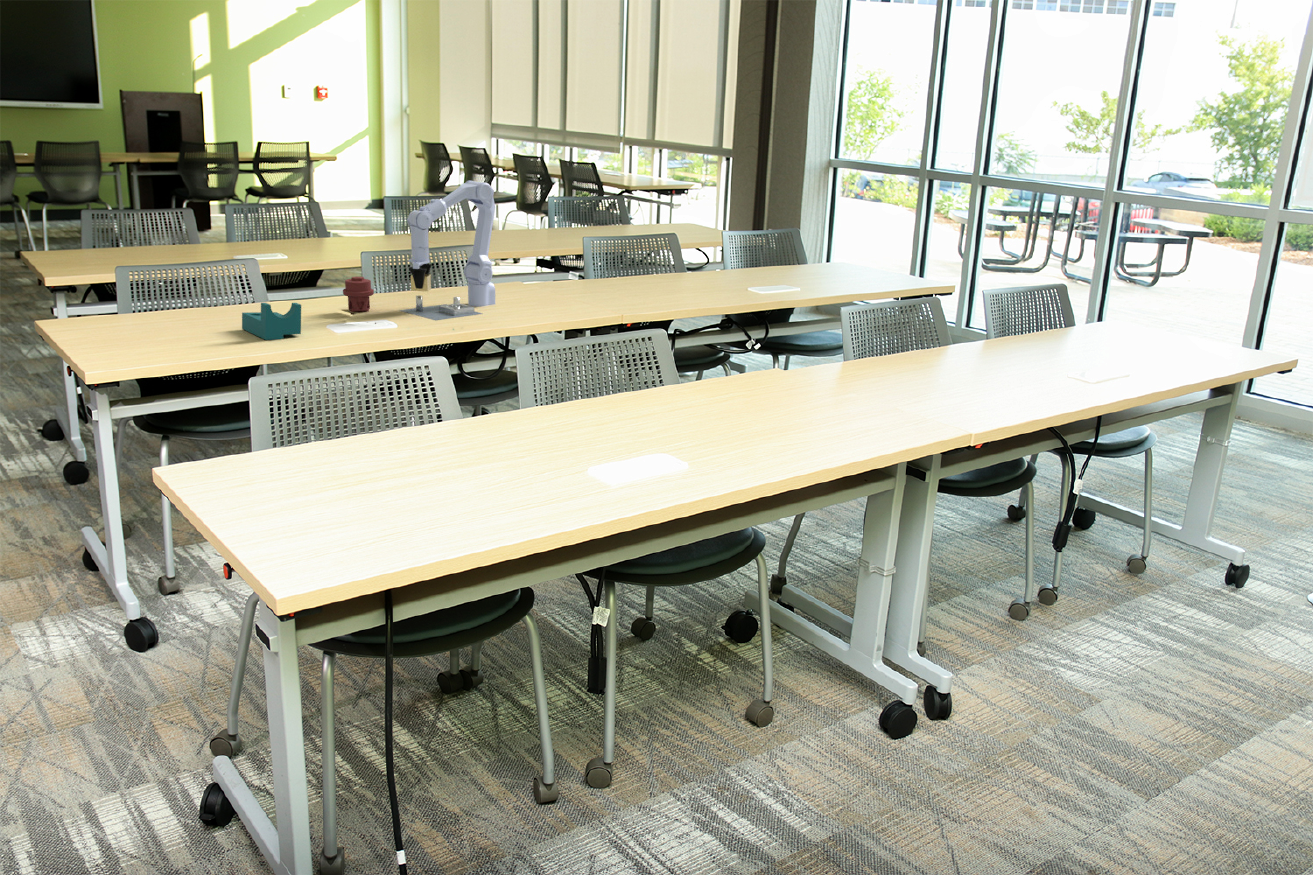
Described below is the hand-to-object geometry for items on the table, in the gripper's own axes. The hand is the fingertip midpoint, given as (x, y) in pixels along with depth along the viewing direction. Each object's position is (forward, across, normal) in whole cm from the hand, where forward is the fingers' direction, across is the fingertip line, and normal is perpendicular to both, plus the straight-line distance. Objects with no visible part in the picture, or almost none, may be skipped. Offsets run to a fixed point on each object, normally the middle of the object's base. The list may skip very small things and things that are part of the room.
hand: (421, 287), depth 346 cm
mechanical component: (+10, +4, -20) cm, 23 cm away
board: (+9, 0, +7) cm, 11 cm away
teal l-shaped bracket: (+10, +40, -38) cm, 56 cm away
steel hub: (+8, -1, +12) cm, 15 cm away
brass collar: (+1, 0, 0) cm, 1 cm away
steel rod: (+8, 0, -1) cm, 8 cm away
